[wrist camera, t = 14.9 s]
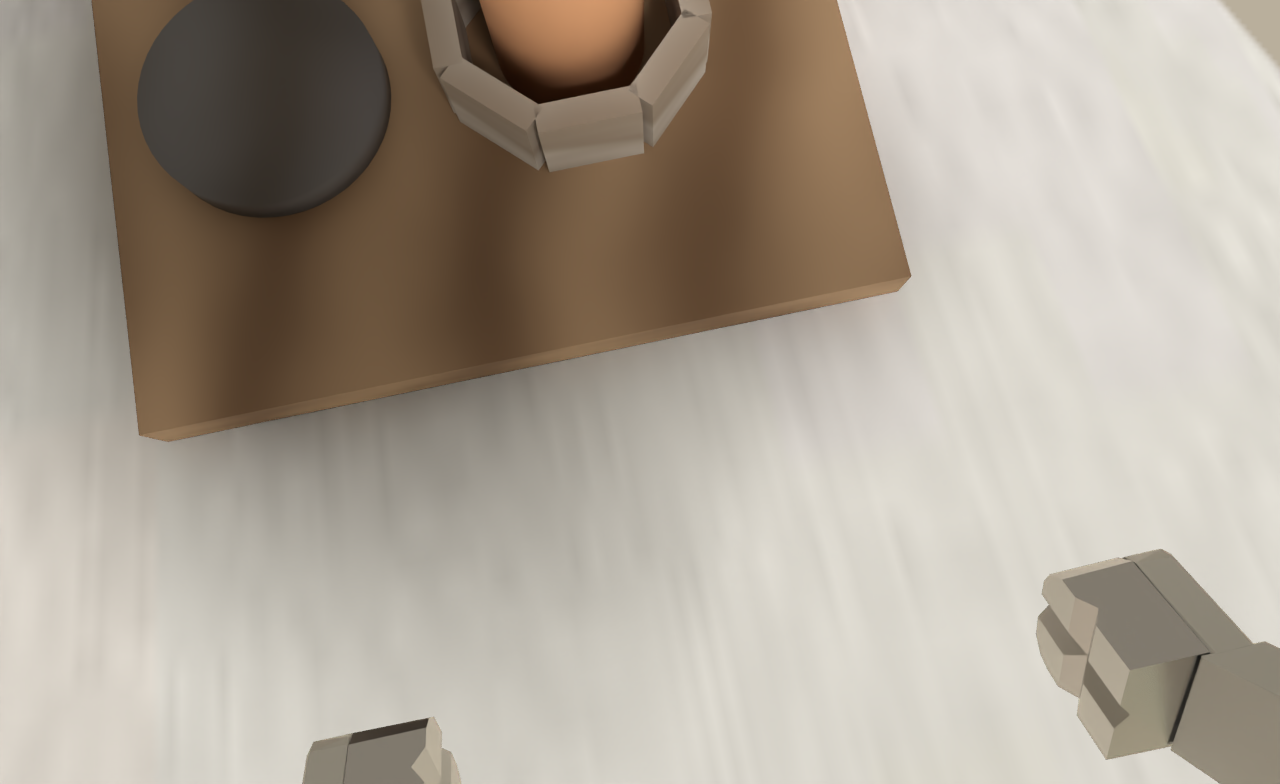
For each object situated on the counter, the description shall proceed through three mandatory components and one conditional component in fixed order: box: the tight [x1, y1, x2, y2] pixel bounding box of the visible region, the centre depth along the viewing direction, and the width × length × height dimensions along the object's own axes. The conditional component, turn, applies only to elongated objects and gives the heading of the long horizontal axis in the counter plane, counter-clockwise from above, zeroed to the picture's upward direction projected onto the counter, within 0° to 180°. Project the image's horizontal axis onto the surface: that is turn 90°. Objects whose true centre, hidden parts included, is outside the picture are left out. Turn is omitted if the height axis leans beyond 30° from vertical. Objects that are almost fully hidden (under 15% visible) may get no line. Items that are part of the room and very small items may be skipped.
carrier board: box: [92, 0, 911, 442], centre depth 26 cm, size 22×18×4 cm
